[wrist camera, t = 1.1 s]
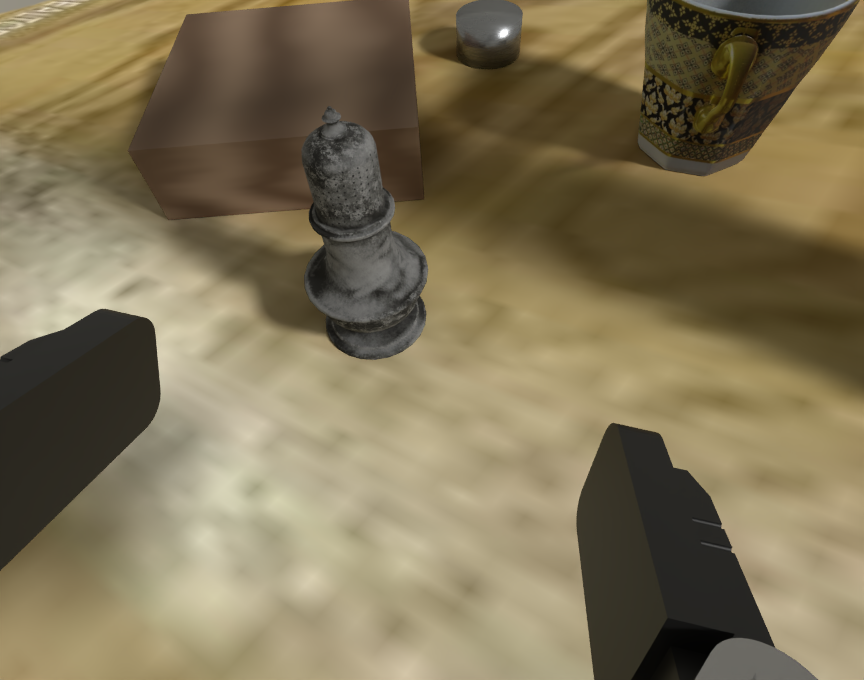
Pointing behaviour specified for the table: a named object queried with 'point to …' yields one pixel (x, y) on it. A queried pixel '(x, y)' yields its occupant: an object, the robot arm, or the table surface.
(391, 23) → the walnut stand
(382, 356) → the salt shaker
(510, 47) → the grey metal puck
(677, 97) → the ceramic cup
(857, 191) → the table surface
